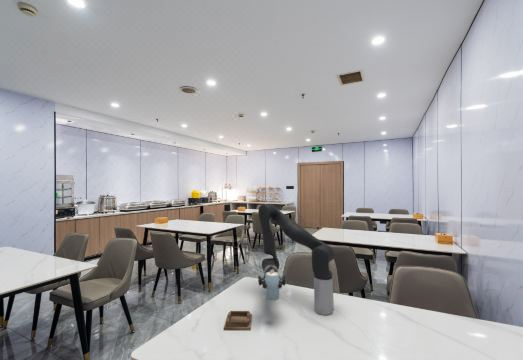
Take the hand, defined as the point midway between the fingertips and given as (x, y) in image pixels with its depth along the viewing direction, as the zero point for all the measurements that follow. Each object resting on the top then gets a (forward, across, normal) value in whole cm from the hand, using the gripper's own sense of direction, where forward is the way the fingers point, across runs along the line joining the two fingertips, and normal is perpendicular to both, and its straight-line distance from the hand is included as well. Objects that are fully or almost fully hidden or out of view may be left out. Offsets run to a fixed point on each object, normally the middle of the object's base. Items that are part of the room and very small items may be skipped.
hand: (272, 286), depth 113 cm
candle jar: (-2, 0, +6) cm, 6 cm away
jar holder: (-2, -16, +18) cm, 24 cm away
